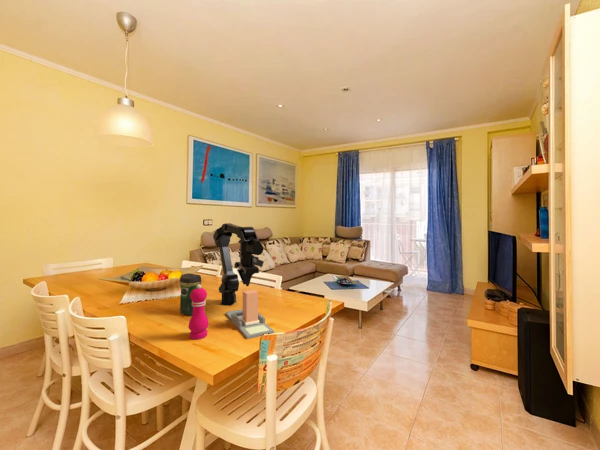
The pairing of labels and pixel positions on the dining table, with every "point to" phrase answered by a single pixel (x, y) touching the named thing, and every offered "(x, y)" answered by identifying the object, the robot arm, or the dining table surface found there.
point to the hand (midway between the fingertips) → (246, 285)
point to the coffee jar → (188, 292)
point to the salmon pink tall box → (250, 307)
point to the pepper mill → (198, 314)
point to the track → (249, 330)
